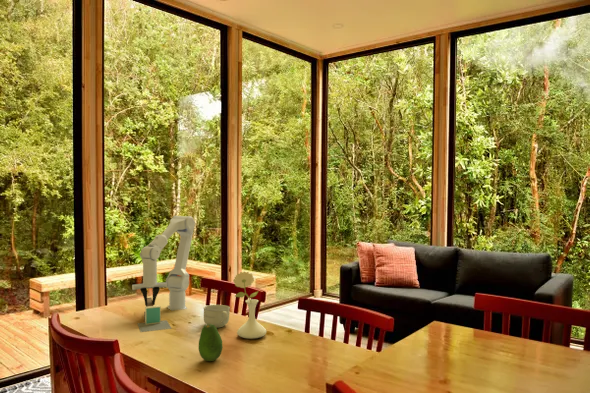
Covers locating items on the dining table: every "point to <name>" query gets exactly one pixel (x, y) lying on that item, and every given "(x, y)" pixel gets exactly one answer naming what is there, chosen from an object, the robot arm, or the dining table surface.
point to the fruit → (210, 343)
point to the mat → (154, 326)
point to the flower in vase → (251, 326)
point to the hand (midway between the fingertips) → (149, 304)
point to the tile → (152, 314)
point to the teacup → (216, 315)
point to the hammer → (148, 304)
